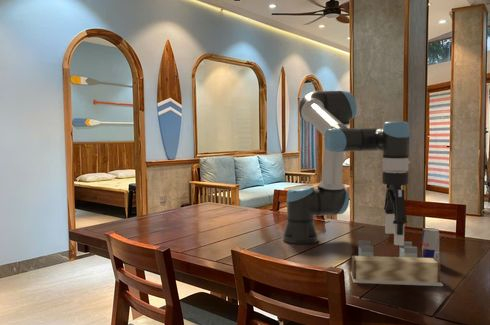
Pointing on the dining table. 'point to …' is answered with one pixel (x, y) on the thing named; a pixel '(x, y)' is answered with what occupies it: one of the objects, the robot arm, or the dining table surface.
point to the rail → (396, 268)
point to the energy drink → (430, 243)
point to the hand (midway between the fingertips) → (394, 238)
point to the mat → (397, 282)
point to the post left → (365, 249)
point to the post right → (408, 250)
